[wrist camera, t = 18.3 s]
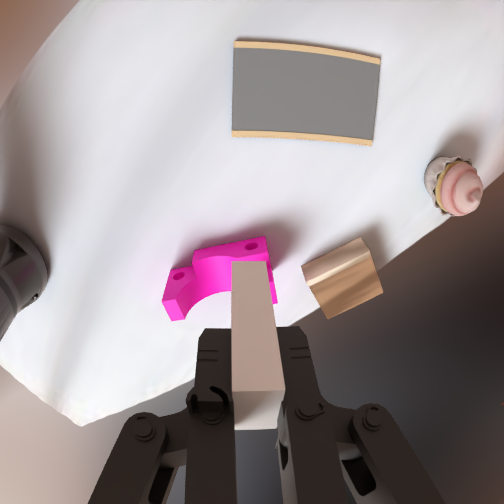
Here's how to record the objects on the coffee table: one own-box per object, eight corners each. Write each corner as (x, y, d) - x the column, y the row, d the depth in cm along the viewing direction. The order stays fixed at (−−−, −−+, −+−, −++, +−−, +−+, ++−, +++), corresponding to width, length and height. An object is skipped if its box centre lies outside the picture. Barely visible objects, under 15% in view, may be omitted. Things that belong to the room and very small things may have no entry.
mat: (231, 135, 35) (231, 136, 35) (233, 42, 29) (233, 41, 28) (369, 144, 36) (371, 146, 36) (377, 59, 30) (380, 58, 29)
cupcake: (448, 135, 35) (491, 154, 27) (466, 182, 39) (505, 208, 31) (405, 168, 38) (444, 195, 30) (427, 214, 42) (462, 246, 34)
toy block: (264, 235, 43) (270, 265, 37) (272, 270, 46) (277, 303, 40) (165, 255, 44) (154, 287, 38) (178, 288, 47) (171, 321, 41)
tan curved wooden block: (383, 292, 45) (369, 250, 40) (327, 319, 47) (306, 282, 43) (374, 277, 48) (359, 236, 44) (321, 302, 51) (300, 265, 46)
